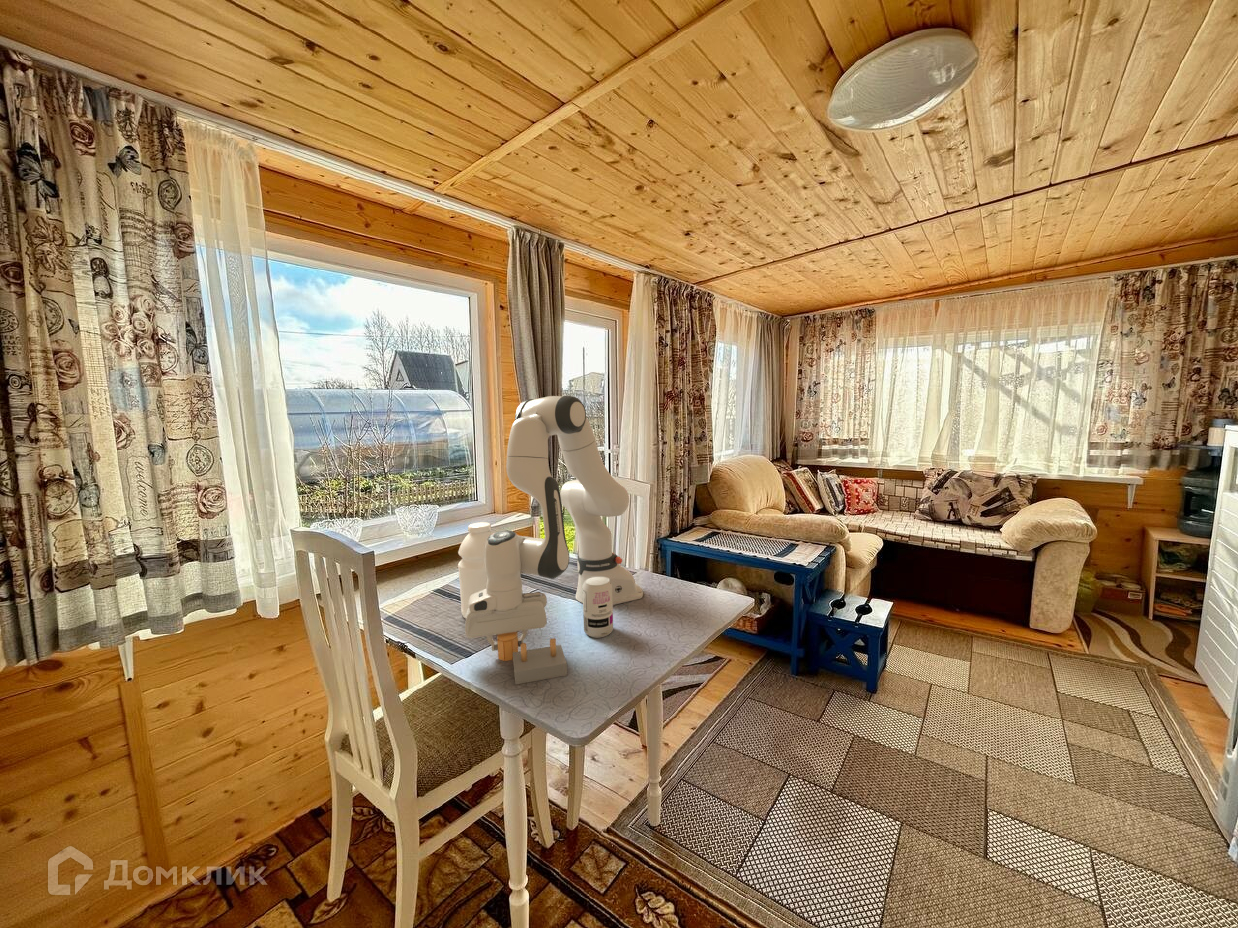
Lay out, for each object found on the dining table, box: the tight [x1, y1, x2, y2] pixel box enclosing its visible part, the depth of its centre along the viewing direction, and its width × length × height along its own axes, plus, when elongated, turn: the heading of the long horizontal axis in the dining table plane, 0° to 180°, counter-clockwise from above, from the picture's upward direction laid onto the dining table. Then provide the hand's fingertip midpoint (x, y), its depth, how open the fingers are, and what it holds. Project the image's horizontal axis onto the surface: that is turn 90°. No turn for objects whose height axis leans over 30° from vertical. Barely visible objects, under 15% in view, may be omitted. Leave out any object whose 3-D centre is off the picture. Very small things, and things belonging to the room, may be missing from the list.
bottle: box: [457, 521, 495, 619], centre depth 143 cm, size 14×14×28 cm
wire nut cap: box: [496, 631, 519, 662], centre depth 118 cm, size 5×5×6 cm
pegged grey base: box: [512, 637, 568, 685], centre depth 112 cm, size 12×9×7 cm
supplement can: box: [582, 576, 614, 639], centre depth 129 cm, size 8×8×15 cm
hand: (508, 647), depth 119 cm, fingers closed on wire nut cap, 5 cm apart
